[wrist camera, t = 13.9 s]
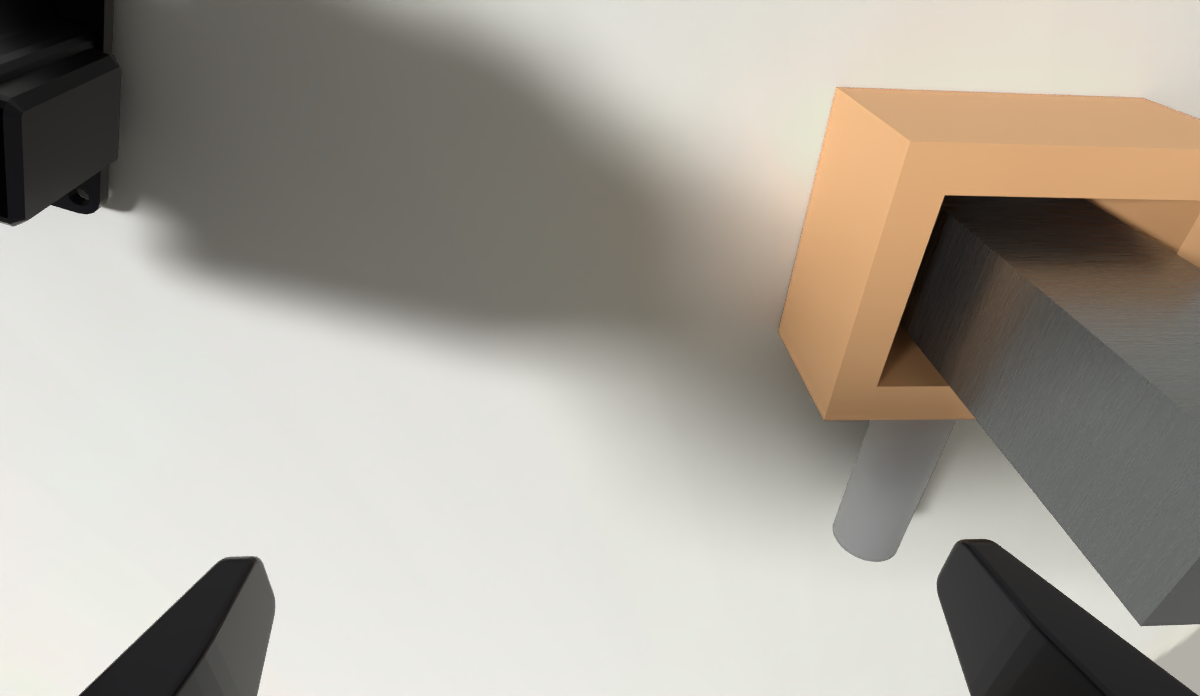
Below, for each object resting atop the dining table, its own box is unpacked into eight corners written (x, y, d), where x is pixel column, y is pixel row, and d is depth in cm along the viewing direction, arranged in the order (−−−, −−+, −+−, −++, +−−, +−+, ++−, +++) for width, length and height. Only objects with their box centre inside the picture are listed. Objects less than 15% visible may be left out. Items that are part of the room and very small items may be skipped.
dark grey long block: (858, 272, 22) (1140, 626, 12) (891, 166, 20) (1265, 478, 10) (992, 275, 22) (1377, 617, 12) (1037, 170, 20) (1544, 474, 10)
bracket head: (738, 498, 27) (781, 635, 23) (841, 65, 18) (953, 138, 13) (1142, 490, 29) (1264, 617, 24) (1428, 87, 20) (1724, 160, 15)
